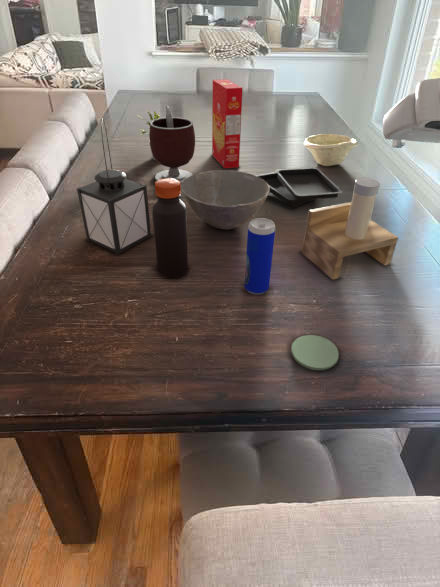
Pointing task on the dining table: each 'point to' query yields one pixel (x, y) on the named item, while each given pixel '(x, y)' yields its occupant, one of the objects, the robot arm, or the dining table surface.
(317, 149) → the bowl
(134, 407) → the dining table surface
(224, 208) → the ceramic bowl
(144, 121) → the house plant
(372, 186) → the cylinder
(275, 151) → the dining table surface
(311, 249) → the wooden stand
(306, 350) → the coaster
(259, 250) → the beverage can
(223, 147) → the food packaging
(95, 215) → the lantern
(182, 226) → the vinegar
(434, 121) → the robot arm
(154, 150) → the mate gourd
